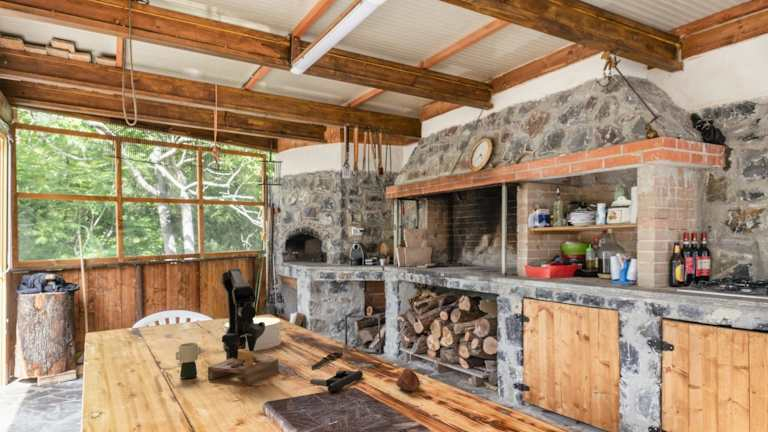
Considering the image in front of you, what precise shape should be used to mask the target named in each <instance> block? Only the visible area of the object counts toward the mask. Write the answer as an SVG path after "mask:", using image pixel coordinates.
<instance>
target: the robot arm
mask: <svg viewBox="0 0 768 432" xmlns="http://www.w3.org/2000/svg"><path fill="white" fill-rule="evenodd" d="M220 283H221V284H220V285H222V290H223V291H224V292H225V293H226V298H227V316H228V322H229V328H228V330H227V332H226V333H224V334H223V335H222V337H221V343H223V344H222V345H223V346H222V349H223V351H224V352H225V357H226V359H225V360H228V359H230V358H233V357H234V359H237V358H238V349H245V348H246V338H247V343H248V348H249V351H253V350H254V347H255V344H256V341H257V339H258V338H259V337H260V336H261V335H262V334H263V331H265V323H264V322H260V323H256V324H255V323H254V322H253V318H256V315H257V311H256V308H255V307H254V306H253V305H252V304H254V303H256V294H255V290H254V288H253V287H252V285H251V284H250V283H249V282H246V281H245V280H244V277H243V273H242V271H241V269H240V268H229V269H228V270H227V271H225V272H223V273H222V274H221V278H220ZM245 336H246V337H245ZM254 351H255V350H254ZM254 351H253V352H254Z"/></svg>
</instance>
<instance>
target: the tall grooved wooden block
mask: <svg viewBox="0 0 768 432" xmlns="http://www.w3.org/2000/svg"><path fill="white" fill-rule="evenodd" d="M254 354H255V351H248V350H243V349H238V358H237V359H234V362H236V361H239V360H245V363H244V367H249V366H251V365H253V364H254V363H253V359H254ZM240 365H241V364H240ZM237 366H239V365H237Z"/></svg>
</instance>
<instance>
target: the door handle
mask: <svg viewBox="0 0 768 432" xmlns="http://www.w3.org/2000/svg"><path fill="white" fill-rule="evenodd" d="M363 376H364V373H363V371H362V370H360V369H359V370H356V371H355V370H337V371H336V372H335V375H334V376H332V377H330V378H327V379H324V378H323V379H321V378H320V379H319V378H312V379H310V380H309V381H310V384H314V385H320V386H325V387H327V391H328V392H329V393H330V392H332V393H334V392H333V391H336V392H337V390H338V391H339V390H341V389H345V388H348V387H349V386H351V385H353V384H355V383H356V382H357V381H358V380H361V379H362V378H363Z"/></svg>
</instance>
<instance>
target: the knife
mask: <svg viewBox="0 0 768 432" xmlns="http://www.w3.org/2000/svg"><path fill="white" fill-rule="evenodd" d="M341 356H343V352H340V351H339V352H338V351H337V352H332V353H329V354H327V355H326V356H321V360H320V361H318V362H316V363H314V364H312V365H311V366H310V367H311V371H313V370H317V369H321V368H322V367H324V366H325V365H327V364H328V363H330V362H332V361H335V360H336V359H339V358H341Z"/></svg>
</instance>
